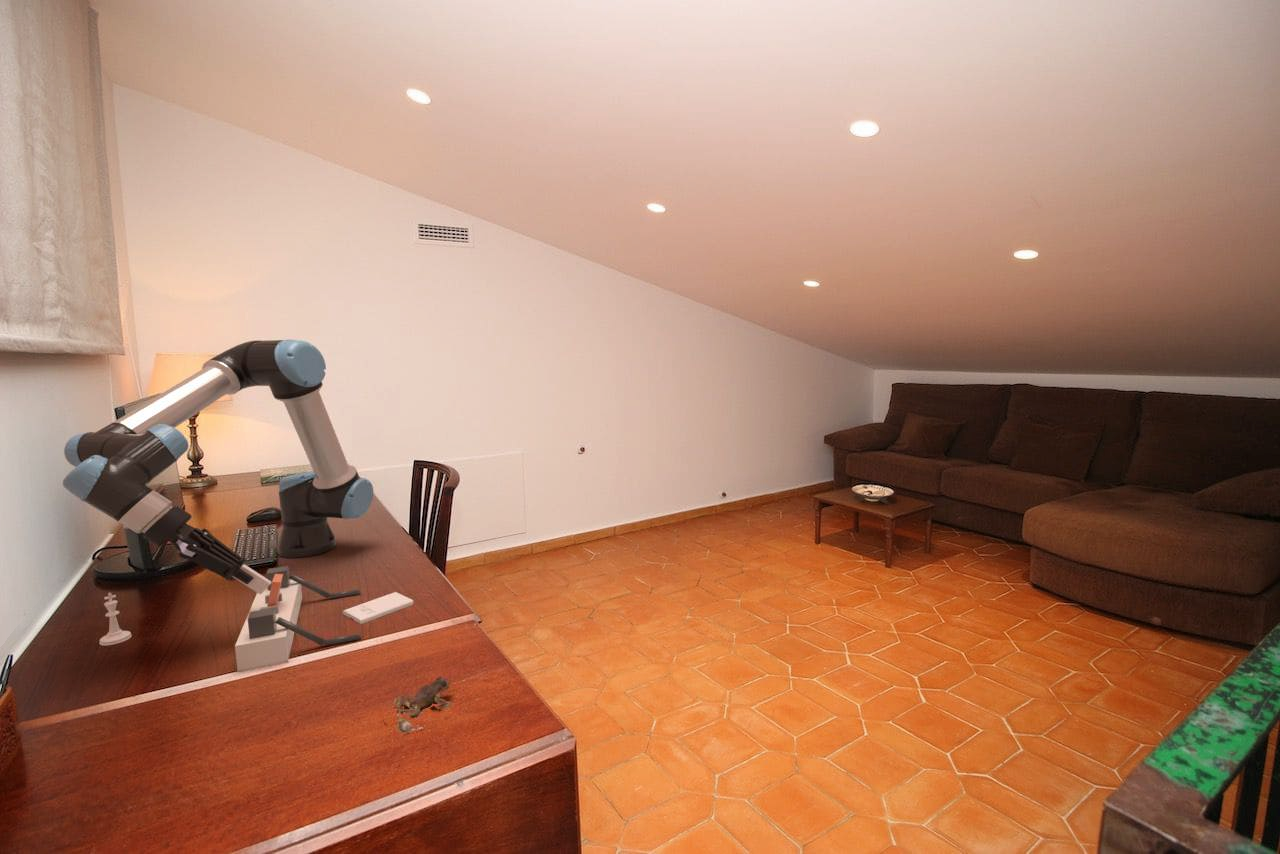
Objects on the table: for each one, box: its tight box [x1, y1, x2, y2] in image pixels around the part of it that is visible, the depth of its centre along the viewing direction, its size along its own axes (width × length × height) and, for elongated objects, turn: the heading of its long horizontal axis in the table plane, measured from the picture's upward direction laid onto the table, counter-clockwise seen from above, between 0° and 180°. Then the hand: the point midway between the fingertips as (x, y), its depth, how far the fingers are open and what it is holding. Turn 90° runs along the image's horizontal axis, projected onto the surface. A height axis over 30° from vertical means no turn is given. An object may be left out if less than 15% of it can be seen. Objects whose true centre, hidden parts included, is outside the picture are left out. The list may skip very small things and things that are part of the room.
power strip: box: [234, 565, 362, 672], centre depth 125 cm, size 21×32×9 cm, turn 26°
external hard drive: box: [342, 591, 415, 625], centre depth 132 cm, size 2×8×12 cm
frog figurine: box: [393, 676, 452, 733], centre depth 95 cm, size 12×12×4 cm
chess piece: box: [99, 592, 132, 646], centre depth 118 cm, size 5×5×10 cm
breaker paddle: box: [267, 574, 283, 606], centre depth 122 cm, size 2×5×6 cm, turn 26°
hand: (265, 588), depth 121 cm, fingers closed
